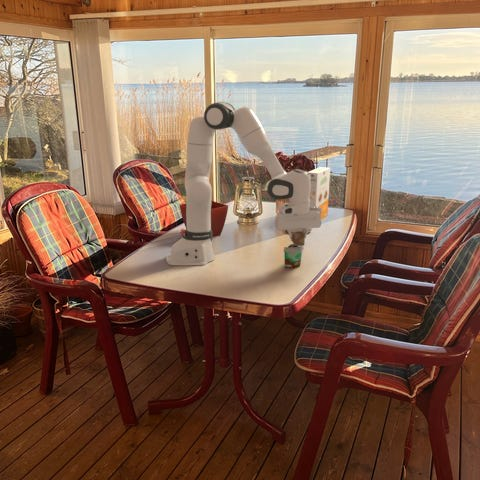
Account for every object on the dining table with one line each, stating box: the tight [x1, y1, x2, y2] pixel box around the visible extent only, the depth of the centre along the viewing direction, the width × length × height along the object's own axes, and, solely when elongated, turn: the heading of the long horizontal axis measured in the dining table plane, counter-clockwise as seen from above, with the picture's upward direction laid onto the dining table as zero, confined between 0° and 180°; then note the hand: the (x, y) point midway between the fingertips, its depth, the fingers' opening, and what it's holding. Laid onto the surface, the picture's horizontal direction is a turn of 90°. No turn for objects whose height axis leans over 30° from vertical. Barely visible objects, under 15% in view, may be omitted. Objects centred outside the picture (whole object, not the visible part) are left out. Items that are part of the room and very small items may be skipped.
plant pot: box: [179, 200, 229, 238], centre depth 254 cm, size 19×19×17 cm
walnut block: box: [290, 229, 306, 246], centre depth 208 cm, size 4×8×5 cm, turn 7°
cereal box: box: [307, 166, 331, 221], centre depth 285 cm, size 22×6×30 cm, turn 151°
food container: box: [283, 243, 305, 269], centre depth 211 cm, size 12×6×10 cm, turn 148°
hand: (297, 238), depth 208 cm, fingers closed on walnut block, 4 cm apart
